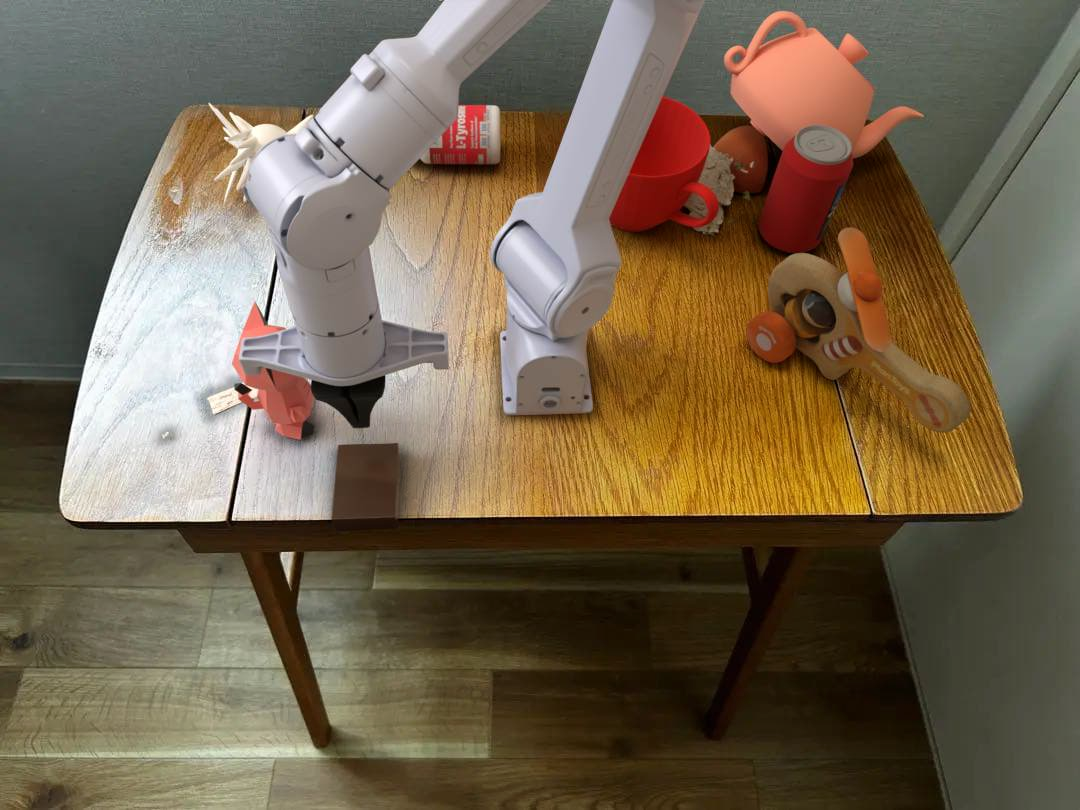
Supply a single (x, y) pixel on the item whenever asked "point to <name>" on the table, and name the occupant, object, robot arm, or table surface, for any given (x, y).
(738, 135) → the brown egg
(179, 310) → the table surface
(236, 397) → the card
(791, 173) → the beverage can
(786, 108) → the teapot
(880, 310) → the toy helicopter
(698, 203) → the stone fragment
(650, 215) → the ceramic cup
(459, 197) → the table surface
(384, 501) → the walnut block
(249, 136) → the spiky ball
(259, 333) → the cat figurine
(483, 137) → the pill bottle
